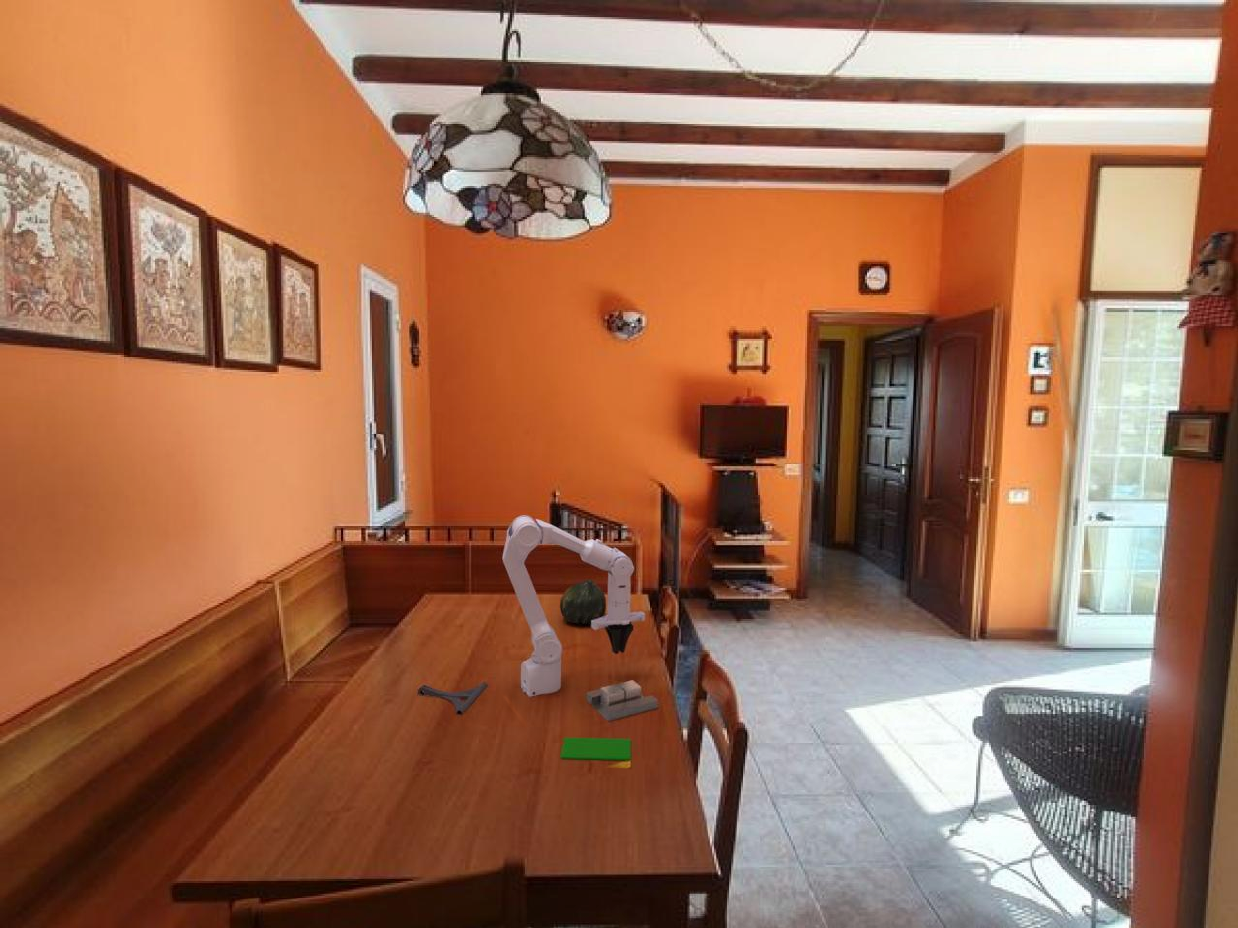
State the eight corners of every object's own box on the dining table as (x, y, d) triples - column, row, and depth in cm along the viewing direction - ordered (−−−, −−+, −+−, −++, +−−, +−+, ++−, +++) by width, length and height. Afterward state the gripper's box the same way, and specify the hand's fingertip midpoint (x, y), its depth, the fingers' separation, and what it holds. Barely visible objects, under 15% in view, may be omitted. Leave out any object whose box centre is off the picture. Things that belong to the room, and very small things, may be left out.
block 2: (625, 707, 138) (626, 690, 137) (617, 699, 141) (617, 683, 141) (640, 703, 140) (641, 687, 139) (632, 696, 143) (632, 680, 143)
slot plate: (607, 727, 132) (607, 713, 131) (586, 705, 141) (586, 692, 141) (657, 713, 138) (658, 700, 138) (633, 693, 148) (634, 680, 147)
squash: (555, 597, 203) (562, 573, 193) (597, 595, 208) (607, 571, 197) (560, 636, 194) (568, 612, 183) (604, 633, 198) (615, 610, 188)
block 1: (608, 711, 136) (608, 695, 135) (600, 704, 139) (600, 687, 139) (623, 707, 138) (624, 691, 137) (615, 700, 141) (615, 684, 141)
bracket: (433, 682, 153) (433, 672, 153) (487, 688, 151) (487, 677, 151) (403, 711, 139) (402, 699, 139) (462, 717, 137) (462, 706, 136)
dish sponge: (630, 770, 117) (630, 758, 117) (560, 768, 118) (560, 756, 117) (630, 749, 124) (630, 738, 124) (564, 747, 125) (564, 736, 125)
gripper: (600, 609, 144) (599, 663, 145) (651, 600, 151) (650, 652, 152) (587, 600, 150) (587, 652, 151) (637, 592, 157) (636, 642, 158)
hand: (618, 651), depth 152 cm, fingers closed
